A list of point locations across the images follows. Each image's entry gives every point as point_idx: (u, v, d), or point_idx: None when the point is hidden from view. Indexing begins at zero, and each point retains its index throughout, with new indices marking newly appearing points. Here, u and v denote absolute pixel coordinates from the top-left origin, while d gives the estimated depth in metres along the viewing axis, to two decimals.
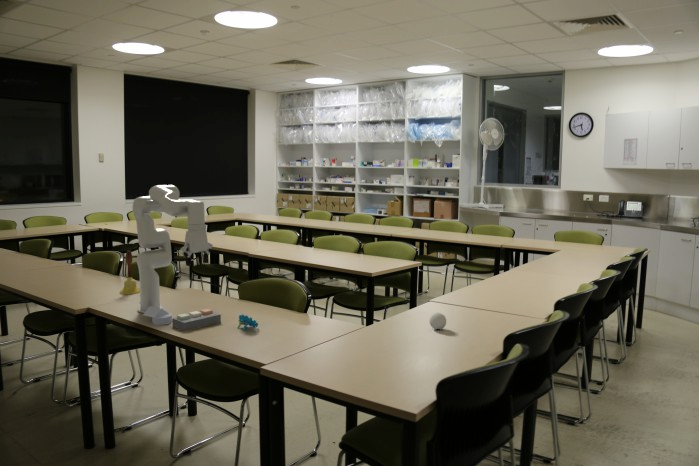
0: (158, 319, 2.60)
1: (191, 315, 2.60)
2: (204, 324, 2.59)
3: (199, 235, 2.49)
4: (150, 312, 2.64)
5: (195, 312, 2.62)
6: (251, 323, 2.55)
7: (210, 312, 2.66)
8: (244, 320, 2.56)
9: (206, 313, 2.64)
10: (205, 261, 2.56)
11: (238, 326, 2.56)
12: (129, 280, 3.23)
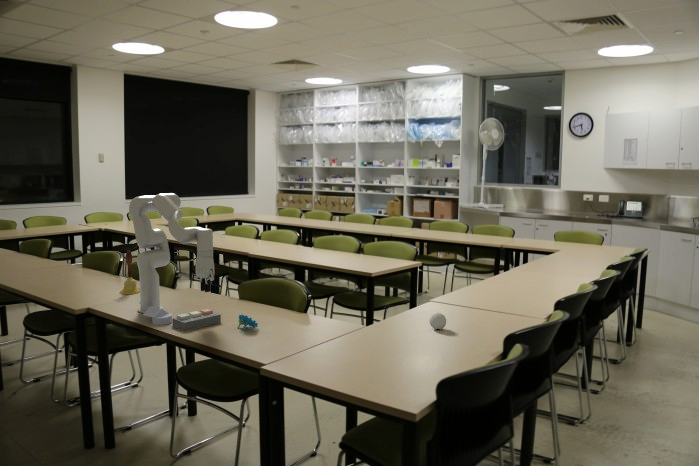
0: (158, 319, 2.60)
1: (191, 315, 2.60)
2: (204, 324, 2.59)
3: None
4: (150, 312, 2.64)
5: (195, 312, 2.62)
6: (251, 323, 2.55)
7: (210, 312, 2.66)
8: (244, 320, 2.56)
9: (206, 313, 2.64)
10: (204, 289, 2.66)
11: (238, 326, 2.56)
12: (129, 280, 3.23)
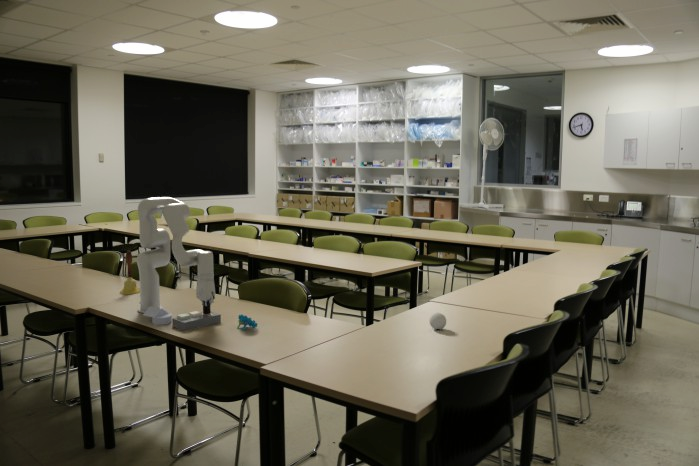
0: (158, 319, 2.60)
1: (191, 315, 2.60)
2: (204, 324, 2.59)
3: None
4: (150, 312, 2.64)
5: (195, 312, 2.62)
6: (250, 323, 2.55)
7: None
8: (244, 320, 2.56)
9: None
10: None
11: (238, 326, 2.56)
12: (129, 280, 3.23)
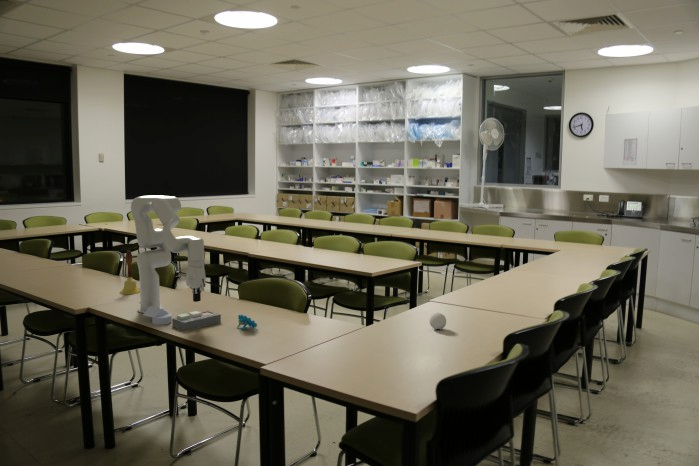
0: (158, 319, 2.60)
1: (191, 315, 2.60)
2: (204, 324, 2.59)
3: None
4: (150, 312, 2.64)
5: (195, 312, 2.62)
6: (250, 323, 2.55)
7: None
8: (243, 320, 2.56)
9: None
10: None
11: (237, 326, 2.56)
12: (129, 280, 3.23)
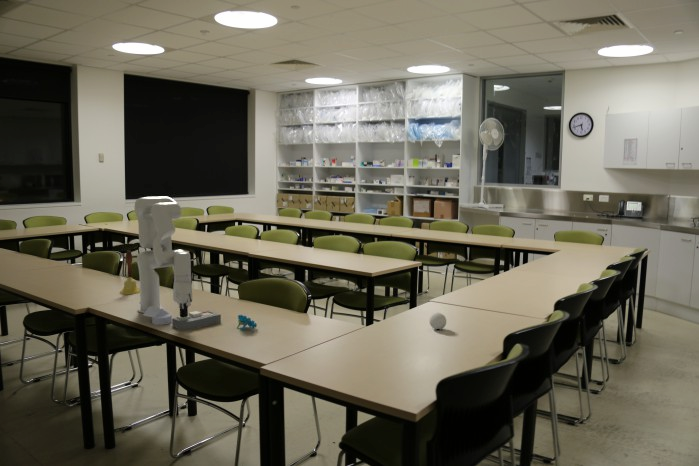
0: (158, 319, 2.60)
1: (191, 315, 2.60)
2: (204, 324, 2.59)
3: None
4: (150, 313, 2.64)
5: (195, 312, 2.62)
6: (250, 323, 2.55)
7: None
8: (243, 320, 2.56)
9: None
10: None
11: (237, 326, 2.56)
12: (129, 280, 3.23)
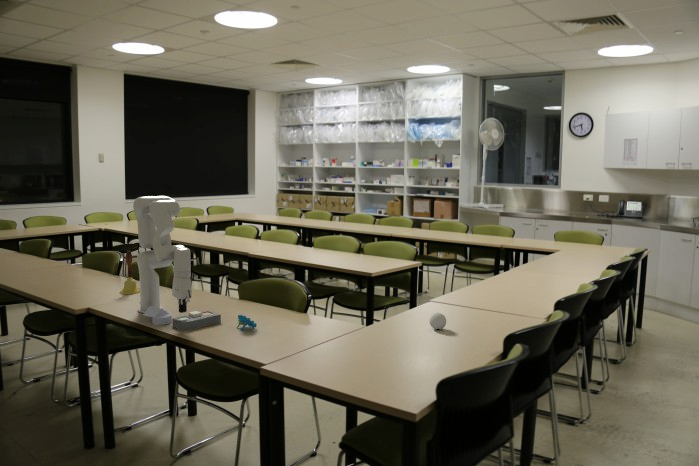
0: (158, 319, 2.60)
1: (191, 315, 2.60)
2: (204, 324, 2.59)
3: None
4: (150, 312, 2.64)
5: (195, 312, 2.62)
6: (250, 323, 2.55)
7: None
8: (243, 320, 2.55)
9: None
10: None
11: (237, 326, 2.56)
12: (129, 280, 3.23)
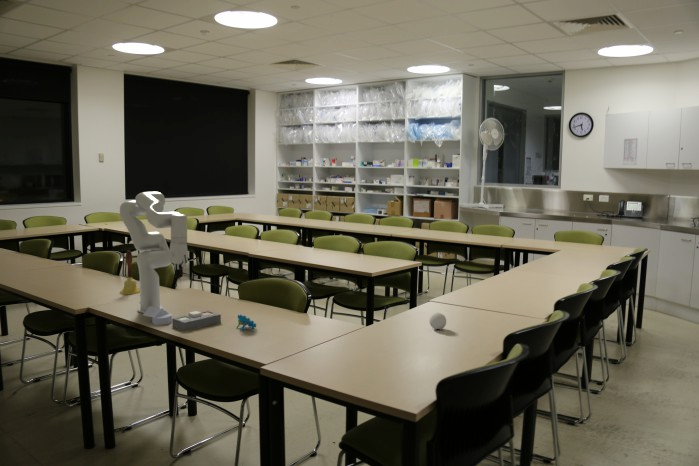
0: (158, 319, 2.60)
1: (191, 315, 2.60)
2: (204, 324, 2.59)
3: None
4: (150, 312, 2.64)
5: (195, 312, 2.62)
6: (249, 323, 2.55)
7: None
8: (243, 320, 2.55)
9: None
10: None
11: (237, 326, 2.56)
12: (129, 280, 3.23)
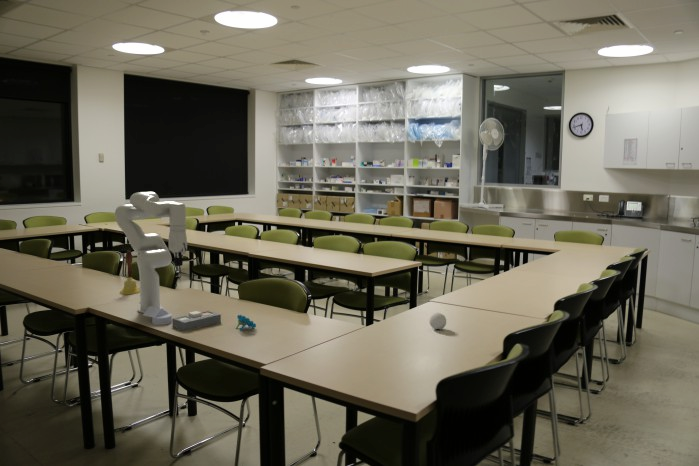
0: (158, 319, 2.60)
1: (191, 315, 2.60)
2: (204, 324, 2.59)
3: None
4: (150, 312, 2.64)
5: (195, 312, 2.62)
6: (249, 323, 2.54)
7: None
8: (242, 320, 2.55)
9: None
10: None
11: (237, 326, 2.56)
12: (129, 280, 3.23)
